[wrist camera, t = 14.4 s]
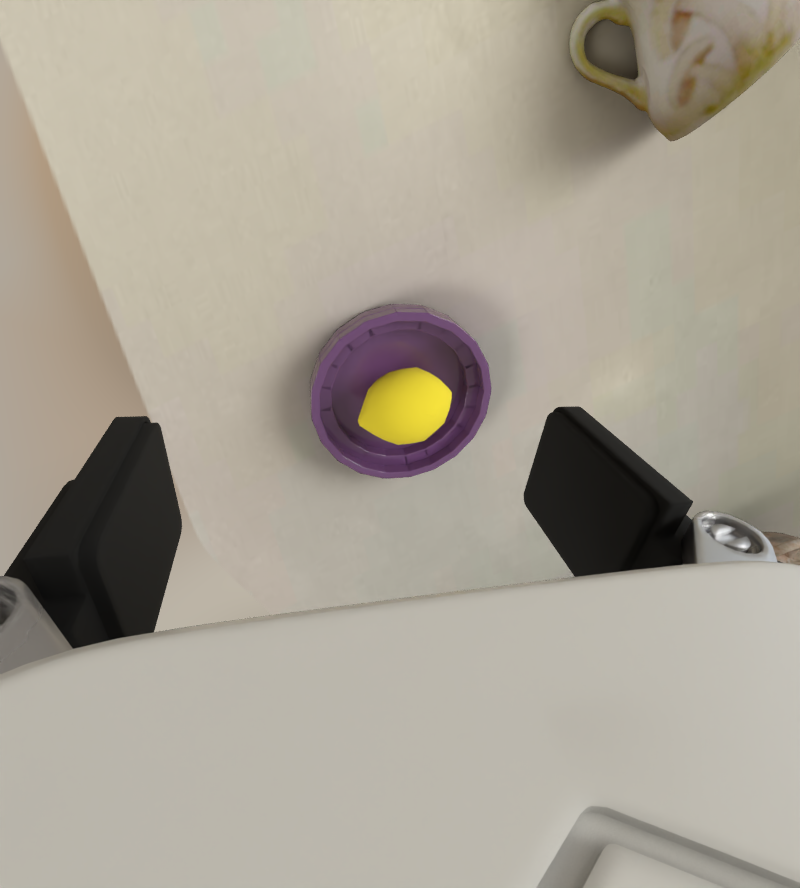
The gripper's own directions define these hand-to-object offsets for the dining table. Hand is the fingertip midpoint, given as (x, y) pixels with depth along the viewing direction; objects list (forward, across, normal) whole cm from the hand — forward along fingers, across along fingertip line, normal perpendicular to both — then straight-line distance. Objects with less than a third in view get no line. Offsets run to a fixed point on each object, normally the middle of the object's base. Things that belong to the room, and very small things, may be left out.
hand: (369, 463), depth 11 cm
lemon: (+21, -6, +8) cm, 23 cm away
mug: (+22, -19, -14) cm, 32 cm away
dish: (+21, -6, +8) cm, 24 cm away
